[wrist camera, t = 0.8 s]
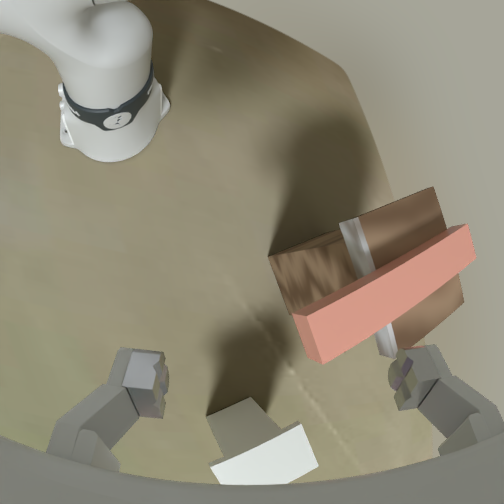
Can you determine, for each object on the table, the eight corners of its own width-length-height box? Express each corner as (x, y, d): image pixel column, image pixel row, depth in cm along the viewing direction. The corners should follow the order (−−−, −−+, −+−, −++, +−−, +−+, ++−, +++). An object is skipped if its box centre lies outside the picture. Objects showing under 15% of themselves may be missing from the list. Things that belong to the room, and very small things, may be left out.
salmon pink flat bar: (291, 313, 25) (306, 316, 22) (451, 226, 31) (467, 223, 29) (307, 357, 25) (323, 364, 22) (459, 259, 32) (476, 258, 29)
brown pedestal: (260, 246, 51) (353, 218, 27) (324, 221, 55) (433, 186, 31) (290, 327, 51) (394, 359, 28) (350, 296, 55) (464, 302, 31)
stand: (191, 416, 45) (210, 467, 31) (259, 386, 49) (301, 423, 34) (212, 452, 46) (236, 506, 31) (275, 423, 49) (318, 466, 34)
